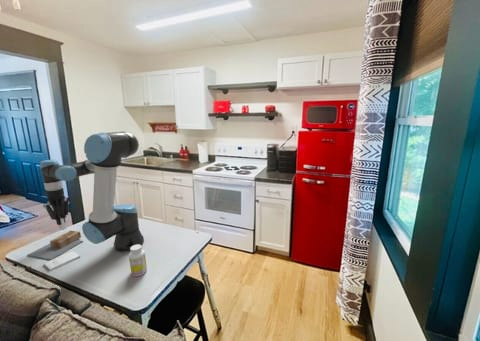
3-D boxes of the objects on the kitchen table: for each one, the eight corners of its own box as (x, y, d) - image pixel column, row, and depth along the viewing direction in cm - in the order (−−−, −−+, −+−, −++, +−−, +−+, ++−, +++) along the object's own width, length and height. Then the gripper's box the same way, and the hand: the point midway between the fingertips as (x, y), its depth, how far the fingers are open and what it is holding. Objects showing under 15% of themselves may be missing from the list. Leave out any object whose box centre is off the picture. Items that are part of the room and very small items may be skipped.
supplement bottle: (139, 266, 110) (136, 241, 107) (150, 269, 108) (147, 244, 105) (127, 274, 104) (124, 249, 101) (139, 278, 102) (135, 252, 99)
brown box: (61, 248, 125) (81, 237, 136) (59, 242, 124) (79, 231, 135) (51, 247, 126) (71, 235, 138) (49, 241, 125) (70, 230, 137)
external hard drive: (80, 258, 118) (50, 271, 108) (73, 253, 122) (44, 265, 112) (79, 255, 117) (49, 268, 107) (72, 250, 122) (43, 262, 112)
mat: (83, 241, 132) (83, 240, 132) (51, 260, 115) (50, 259, 115) (61, 238, 136) (61, 237, 136) (27, 255, 119) (27, 254, 119)
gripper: (60, 184, 130) (68, 223, 135) (35, 192, 118) (45, 234, 123) (71, 185, 128) (78, 224, 134) (46, 193, 116) (56, 235, 121)
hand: (62, 229), depth 128 cm, fingers closed
